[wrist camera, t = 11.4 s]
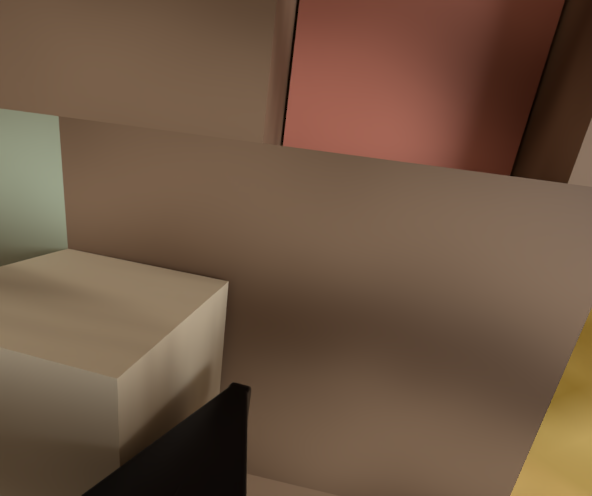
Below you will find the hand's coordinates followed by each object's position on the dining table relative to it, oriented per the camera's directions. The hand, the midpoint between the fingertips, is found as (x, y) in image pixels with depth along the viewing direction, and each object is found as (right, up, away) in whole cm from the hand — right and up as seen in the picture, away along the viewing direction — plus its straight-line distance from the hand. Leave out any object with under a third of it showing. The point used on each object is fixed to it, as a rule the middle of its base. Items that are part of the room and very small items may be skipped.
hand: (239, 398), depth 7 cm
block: (-3, +1, +2) cm, 4 cm away
